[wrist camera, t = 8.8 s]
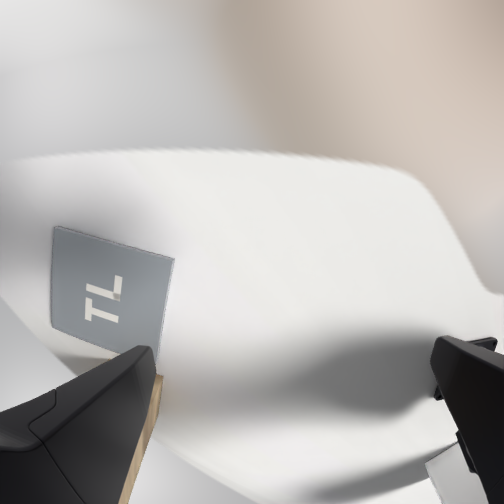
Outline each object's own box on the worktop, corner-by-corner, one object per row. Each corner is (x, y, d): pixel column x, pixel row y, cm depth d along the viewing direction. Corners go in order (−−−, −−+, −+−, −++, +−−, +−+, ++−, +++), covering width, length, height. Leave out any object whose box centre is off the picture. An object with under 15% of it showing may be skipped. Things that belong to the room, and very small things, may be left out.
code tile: (174, 258, 21) (172, 261, 21) (157, 361, 24) (155, 365, 23) (58, 226, 21) (54, 227, 20) (55, 324, 23) (52, 327, 22)
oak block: (163, 376, 24) (117, 494, 12) (158, 414, 25) (121, 522, 13) (109, 358, 24) (41, 461, 12) (109, 398, 25) (56, 495, 13)
